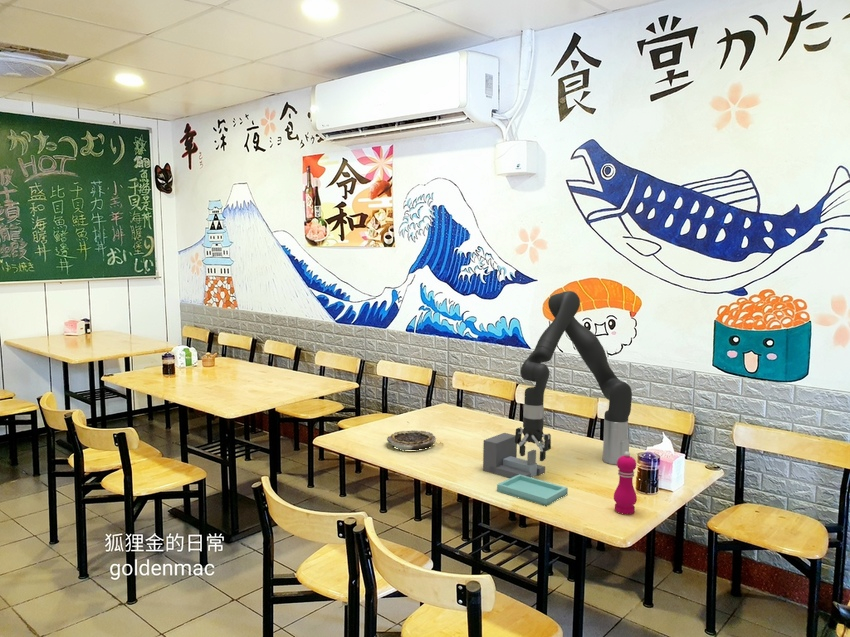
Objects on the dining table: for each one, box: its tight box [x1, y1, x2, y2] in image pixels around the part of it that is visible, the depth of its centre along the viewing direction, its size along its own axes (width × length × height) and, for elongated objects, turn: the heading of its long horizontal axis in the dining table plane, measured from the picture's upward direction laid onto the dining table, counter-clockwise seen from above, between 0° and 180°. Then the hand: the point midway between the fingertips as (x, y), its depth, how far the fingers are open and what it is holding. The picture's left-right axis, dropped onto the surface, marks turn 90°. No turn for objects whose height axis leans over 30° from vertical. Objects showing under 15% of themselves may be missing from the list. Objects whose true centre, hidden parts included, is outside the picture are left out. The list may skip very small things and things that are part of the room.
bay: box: [482, 432, 546, 479], centre depth 251 cm, size 19×14×12 cm
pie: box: [386, 430, 437, 450], centre depth 284 cm, size 28×27×5 cm
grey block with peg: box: [503, 449, 538, 478], centre depth 250 cm, size 12×5×10 cm, turn 49°
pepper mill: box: [613, 451, 638, 515], centre depth 214 cm, size 7×7×20 cm
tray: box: [496, 474, 569, 507], centre depth 230 cm, size 20×14×2 cm
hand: (532, 458), depth 246 cm, fingers open, 8 cm apart
